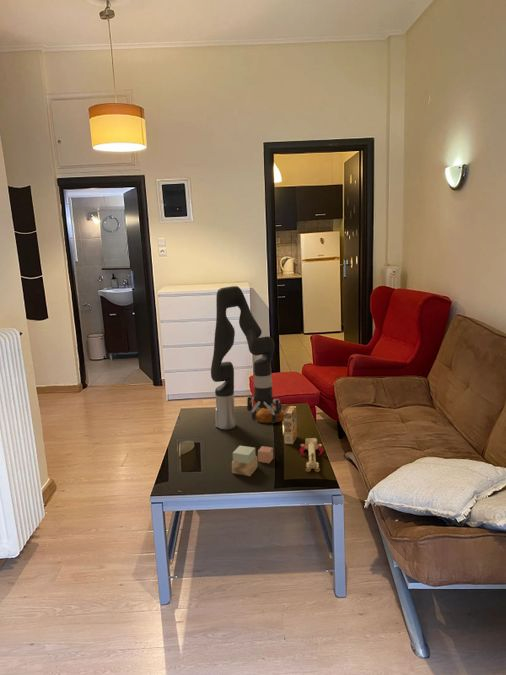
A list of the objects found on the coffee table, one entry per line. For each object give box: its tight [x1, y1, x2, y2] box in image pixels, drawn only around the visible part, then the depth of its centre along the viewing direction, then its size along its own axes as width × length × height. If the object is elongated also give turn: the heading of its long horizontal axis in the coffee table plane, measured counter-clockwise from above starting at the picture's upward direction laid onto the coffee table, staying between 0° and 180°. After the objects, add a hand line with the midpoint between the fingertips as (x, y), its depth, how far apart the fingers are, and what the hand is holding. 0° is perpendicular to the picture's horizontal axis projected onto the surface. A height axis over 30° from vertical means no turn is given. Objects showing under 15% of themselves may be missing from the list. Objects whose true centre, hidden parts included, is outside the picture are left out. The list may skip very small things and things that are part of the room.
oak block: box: [231, 455, 258, 477], centre depth 202 cm, size 8×8×5 cm
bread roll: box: [256, 405, 285, 424], centre depth 255 cm, size 14×16×8 cm
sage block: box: [232, 445, 257, 464], centre depth 201 cm, size 7×7×4 cm
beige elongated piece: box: [299, 437, 324, 473], centre depth 210 cm, size 10×9×25 cm
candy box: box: [283, 405, 298, 445], centre depth 227 cm, size 9×4×15 cm, turn 162°
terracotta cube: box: [257, 445, 274, 464], centre depth 210 cm, size 5×5×5 cm
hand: (264, 421), depth 207 cm, fingers open, 8 cm apart
